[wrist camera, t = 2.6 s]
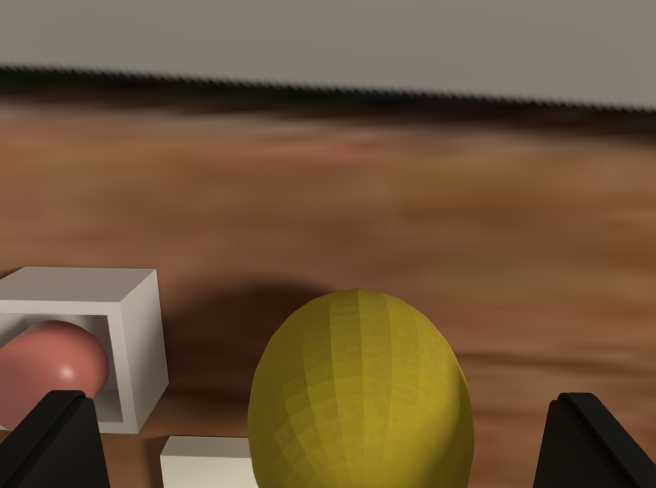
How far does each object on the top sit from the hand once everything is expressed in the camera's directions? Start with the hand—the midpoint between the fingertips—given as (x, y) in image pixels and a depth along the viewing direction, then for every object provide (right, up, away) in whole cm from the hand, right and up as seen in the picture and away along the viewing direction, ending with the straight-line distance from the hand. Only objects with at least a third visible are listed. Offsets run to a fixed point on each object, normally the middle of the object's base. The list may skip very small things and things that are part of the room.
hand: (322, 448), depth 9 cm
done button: (-8, +1, +4) cm, 9 cm away
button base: (-8, +1, +6) cm, 10 cm away
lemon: (+1, +1, +6) cm, 7 cm away
